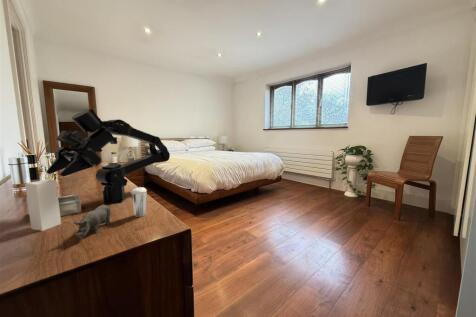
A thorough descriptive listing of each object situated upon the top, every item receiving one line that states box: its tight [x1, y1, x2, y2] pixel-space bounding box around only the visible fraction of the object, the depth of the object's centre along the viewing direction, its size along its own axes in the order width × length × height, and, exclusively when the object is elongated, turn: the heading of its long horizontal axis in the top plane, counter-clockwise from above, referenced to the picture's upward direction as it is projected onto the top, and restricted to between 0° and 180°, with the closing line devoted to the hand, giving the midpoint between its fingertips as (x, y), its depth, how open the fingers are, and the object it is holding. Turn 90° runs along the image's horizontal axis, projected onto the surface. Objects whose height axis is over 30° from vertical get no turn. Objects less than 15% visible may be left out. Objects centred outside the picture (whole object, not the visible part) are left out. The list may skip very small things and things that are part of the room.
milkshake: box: [127, 185, 148, 218], centre depth 63 cm, size 4×5×10 cm
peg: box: [24, 179, 62, 232], centre depth 55 cm, size 4×4×13 cm
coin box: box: [58, 193, 82, 217], centre depth 67 cm, size 10×10×4 cm
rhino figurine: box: [72, 204, 112, 240], centre depth 52 cm, size 4×14×6 cm, turn 5°
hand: (54, 174), depth 61 cm, fingers open, 9 cm apart
